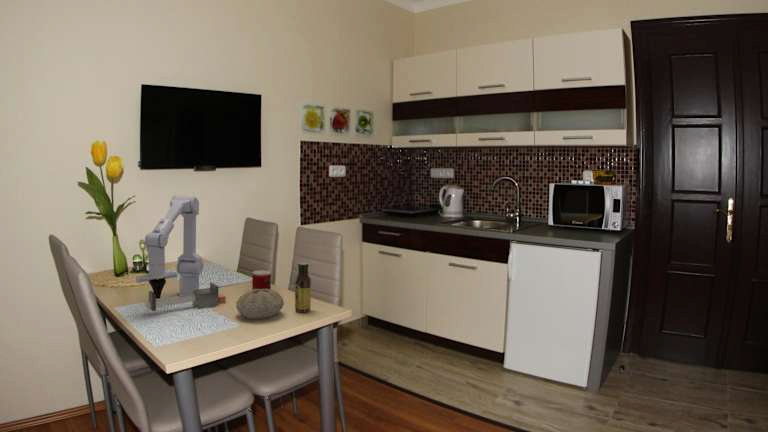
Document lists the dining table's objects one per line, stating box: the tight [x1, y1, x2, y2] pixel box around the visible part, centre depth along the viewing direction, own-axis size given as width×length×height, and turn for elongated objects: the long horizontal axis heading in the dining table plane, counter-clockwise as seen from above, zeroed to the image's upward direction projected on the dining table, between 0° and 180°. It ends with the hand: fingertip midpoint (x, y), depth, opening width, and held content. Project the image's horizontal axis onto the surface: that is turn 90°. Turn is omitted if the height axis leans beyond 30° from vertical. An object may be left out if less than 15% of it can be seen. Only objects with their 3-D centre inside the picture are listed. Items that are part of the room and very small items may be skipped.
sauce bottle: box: [294, 261, 312, 314], centre depth 193 cm, size 7×6×20 cm
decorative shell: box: [235, 289, 285, 320], centre depth 187 cm, size 18×18×10 cm
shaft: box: [145, 290, 197, 312], centre depth 191 cm, size 5×23×6 cm, turn 131°
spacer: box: [218, 293, 227, 305], centre depth 203 cm, size 4×3×3 cm
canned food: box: [251, 269, 272, 290], centre depth 212 cm, size 8×8×11 cm
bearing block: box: [192, 282, 220, 310], centre depth 198 cm, size 7×8×8 cm
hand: (157, 298), depth 186 cm, fingers closed
